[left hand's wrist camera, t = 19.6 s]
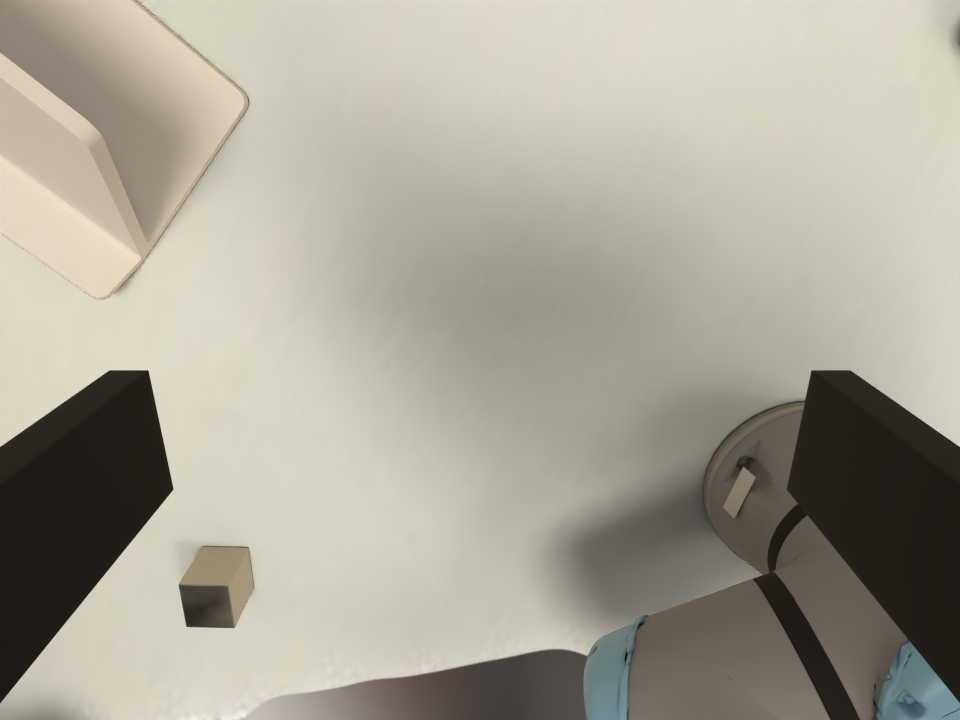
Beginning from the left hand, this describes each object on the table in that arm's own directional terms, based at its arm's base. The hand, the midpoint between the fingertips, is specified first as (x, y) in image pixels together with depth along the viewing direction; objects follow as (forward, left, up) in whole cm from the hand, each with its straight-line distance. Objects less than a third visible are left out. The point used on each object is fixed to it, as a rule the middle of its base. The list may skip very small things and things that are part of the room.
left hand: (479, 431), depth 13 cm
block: (-26, +30, -34) cm, 52 cm away
